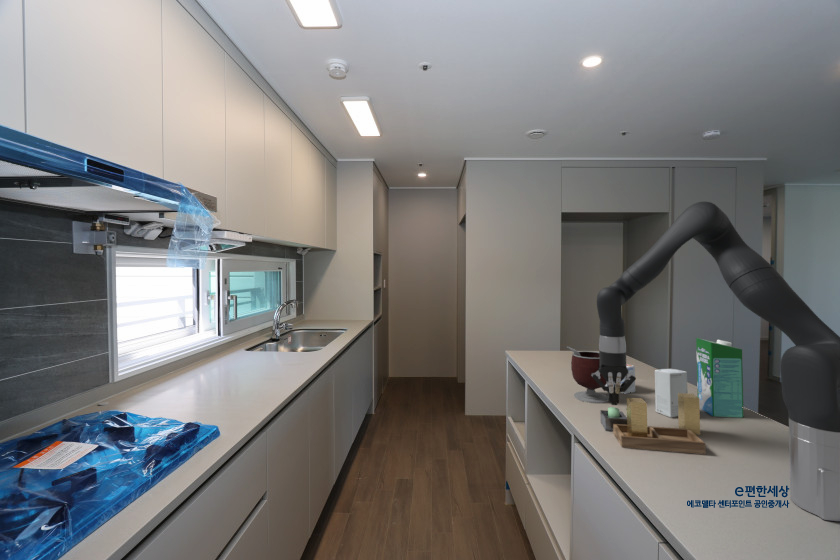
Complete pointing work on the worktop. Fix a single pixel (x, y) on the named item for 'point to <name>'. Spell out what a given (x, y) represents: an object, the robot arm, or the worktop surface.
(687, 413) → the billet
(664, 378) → the skincare box
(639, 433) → the billet
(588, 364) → the mate gourd
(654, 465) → the worktop surface
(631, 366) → the light bulb box
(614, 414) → the button
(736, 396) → the milk carton
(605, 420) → the button housing
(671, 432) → the tray
